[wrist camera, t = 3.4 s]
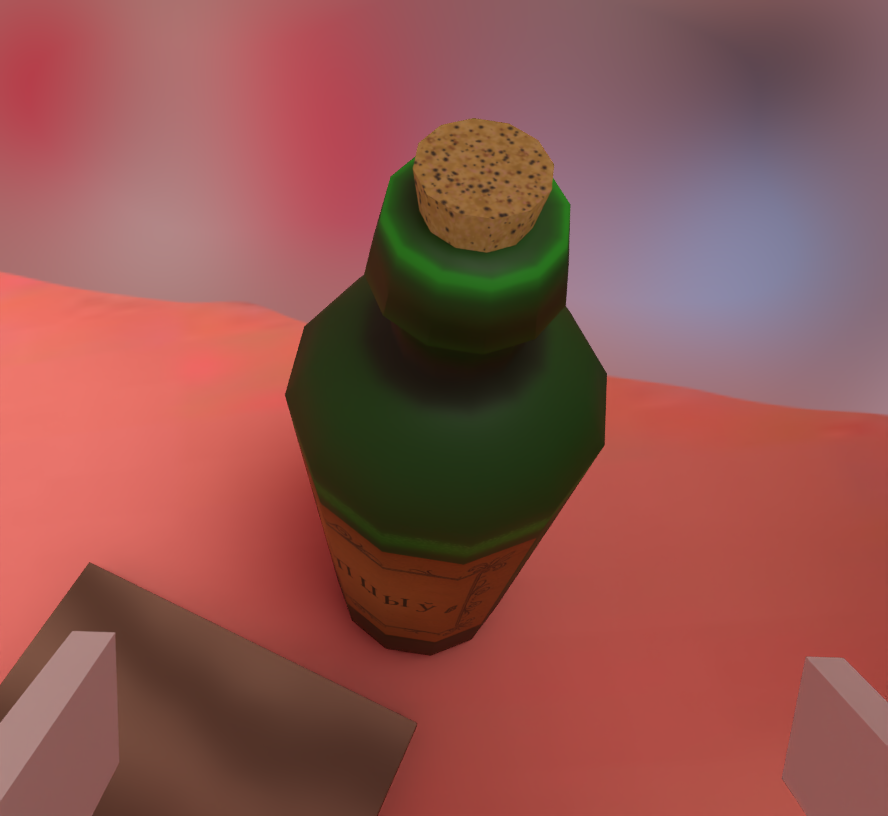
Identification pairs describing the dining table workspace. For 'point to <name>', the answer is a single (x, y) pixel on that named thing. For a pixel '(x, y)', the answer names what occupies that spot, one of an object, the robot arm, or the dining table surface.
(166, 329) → the dining table surface
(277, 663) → the walnut board
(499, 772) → the dining table surface
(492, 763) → the dining table surface
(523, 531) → the bottle
